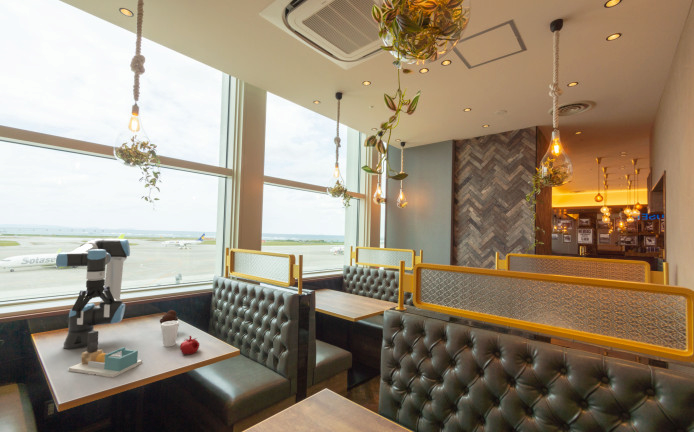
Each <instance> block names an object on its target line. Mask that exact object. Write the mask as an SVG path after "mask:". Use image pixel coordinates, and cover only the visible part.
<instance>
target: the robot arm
mask: <svg viewBox="0 0 694 432" xmlns="http://www.w3.org/2000/svg"><path fill="white" fill-rule="evenodd" d="M130 255H131V248H130V243H129V240H128V239H126V238H97V239H93V240H89V241H86V242H84V243H82V244H81V245H80V246H79V247H77V248H75V249H73V250H72V251H70V252H66V251H65V252H60V253H57V255H56V256H55V257H56V259H55V264H56V266H57V267H58V268H75V267H76V268H77V267H86V283H85V287H86V290H80V291H79V294H78V297H77V298H76V300H75V302H74V305H73V306H72V308H70V310H69V312H68V330H67V331H68V332H67V335H66V337H65V341H64V342H63V349H66V350H75V349H82V348H85V347H86V348H87V342H88V332H91V331H95V330H94V327H95V326H103V325H113V324H118V323H120V322H122V320H123V318H124V314H125V312H126V311H125V310H126V304H125V303H123V299H121V294H122V293H121V292H122V282H123V281H122V280H123V272H124V271H123V269H124V262H125V261H126V260H127V259H128V258H127V257H130ZM95 298H100V299H101V301H100V302H99V304H98V305H96V304H95V303H89V301H91V300H92V299H95Z"/></svg>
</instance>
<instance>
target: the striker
mask: <svg viewBox="0 0 694 432" xmlns="http://www.w3.org/2000/svg"><path fill="white" fill-rule="evenodd" d="M98 347H99V330H94V331H91V332H88V342H87V346H86V348H87V349H86V351H84V352H81V357H80V358H81V359H80V361H81V362H80V363H84V364H88V362H89V361H94V362H96V357H97V356H98V355H99V354H101V353H104V352H103V351H104V350H103V349H98Z"/></svg>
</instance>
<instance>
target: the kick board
mask: <svg viewBox="0 0 694 432" xmlns="http://www.w3.org/2000/svg"><path fill="white" fill-rule="evenodd" d="M110 356H111V357H119V358H120V357H121V356H122V354H121V355H120V354H119V355H118V354H112V355H110ZM142 363H143V359H137V363H135V364H133V365H131V366H129V367H127V368H125V369H123V370H121V371H114V370H106V369H104V363H102V362H94V361H89V362H88V364H84V363H81V362H79V363H78V364H75V365H72V366H70V367H68V372H73V373H74V372H75V373H80V374H81V373H82V374H87V373H88V374H87V375H94V374H96V375H95V376H100V375H102V376H101V377H106V378H107V377H108V378H109V377H110V378H114V377H117V376H119V375H121V374H123V373H124V372H127V371H129V370H131V369H134V368H136V367H137V366H139V365H141V364H142Z"/></svg>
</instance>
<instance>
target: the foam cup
mask: <svg viewBox="0 0 694 432" xmlns="http://www.w3.org/2000/svg"><path fill="white" fill-rule="evenodd" d="M179 327H180V321H167V322H163V323H162V324H161V323H160V329H161V337H162V345H163V347H165V348H166V347H172V346H175V345H176V341H177V336H178V331H179Z"/></svg>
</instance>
